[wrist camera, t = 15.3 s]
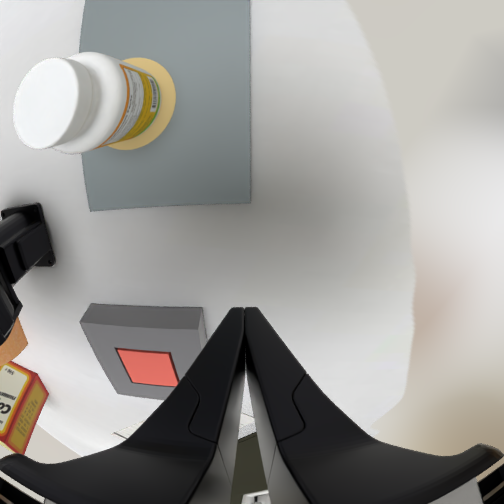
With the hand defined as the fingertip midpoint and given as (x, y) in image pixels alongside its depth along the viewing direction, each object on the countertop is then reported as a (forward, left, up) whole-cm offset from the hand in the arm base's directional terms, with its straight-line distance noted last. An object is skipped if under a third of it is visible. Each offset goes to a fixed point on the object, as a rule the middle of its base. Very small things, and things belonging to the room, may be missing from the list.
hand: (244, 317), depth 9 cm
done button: (-10, -16, -12) cm, 22 cm away
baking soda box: (-41, -29, -13) cm, 52 cm away
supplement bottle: (-8, +8, -12) cm, 17 cm away
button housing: (-10, -16, -13) cm, 23 cm away
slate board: (-6, +10, -13) cm, 17 cm away
